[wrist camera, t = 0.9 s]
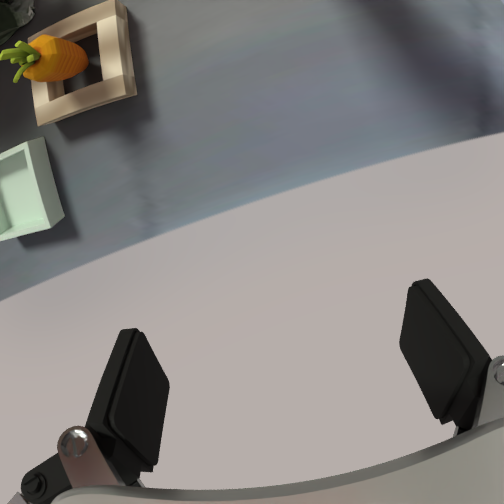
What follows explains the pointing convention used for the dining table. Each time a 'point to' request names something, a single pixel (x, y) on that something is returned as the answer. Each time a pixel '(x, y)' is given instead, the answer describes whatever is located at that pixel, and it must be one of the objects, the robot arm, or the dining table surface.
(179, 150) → the dining table surface
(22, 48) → the carrot
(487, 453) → the robot arm
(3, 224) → the tray
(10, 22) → the rose bouquet
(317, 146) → the dining table surface
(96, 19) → the wooden stand
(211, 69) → the dining table surface
